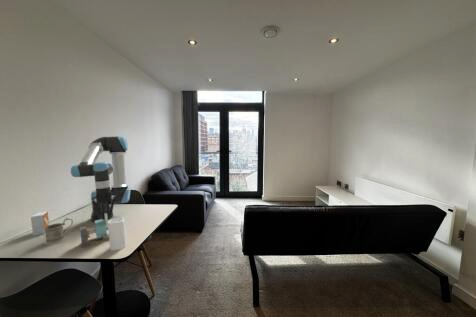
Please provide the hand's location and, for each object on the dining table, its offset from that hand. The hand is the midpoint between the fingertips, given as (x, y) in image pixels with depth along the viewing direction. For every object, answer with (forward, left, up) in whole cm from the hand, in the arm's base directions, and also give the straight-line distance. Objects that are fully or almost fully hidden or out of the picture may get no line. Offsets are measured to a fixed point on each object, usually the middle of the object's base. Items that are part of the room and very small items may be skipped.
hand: (106, 223), depth 128 cm
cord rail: (0, -4, -9) cm, 10 cm away
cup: (+17, +3, -10) cm, 19 cm away
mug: (-19, -23, -10) cm, 31 cm away
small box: (-41, -33, -10) cm, 54 cm away
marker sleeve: (0, -3, -6) cm, 7 cm away
